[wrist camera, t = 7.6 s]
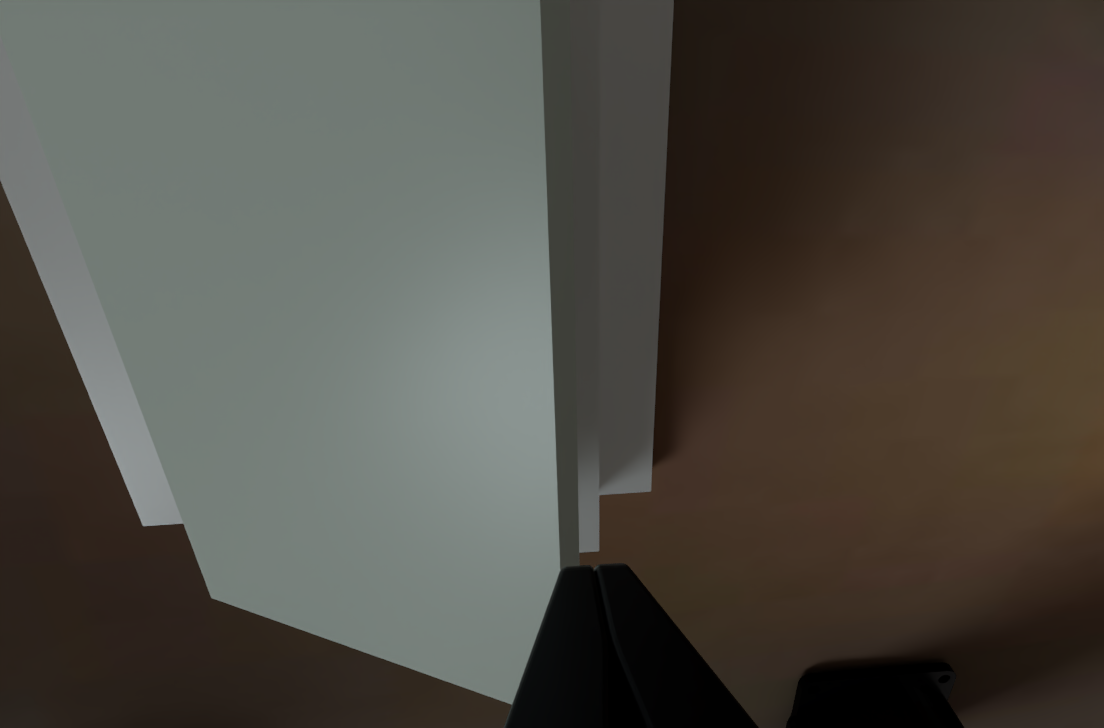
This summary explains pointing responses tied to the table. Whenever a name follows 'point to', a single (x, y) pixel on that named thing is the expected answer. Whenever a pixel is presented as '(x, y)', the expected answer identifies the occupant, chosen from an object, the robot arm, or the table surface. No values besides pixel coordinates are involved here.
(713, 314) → the table surface
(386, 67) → the duct cover
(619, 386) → the base
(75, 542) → the table surface
